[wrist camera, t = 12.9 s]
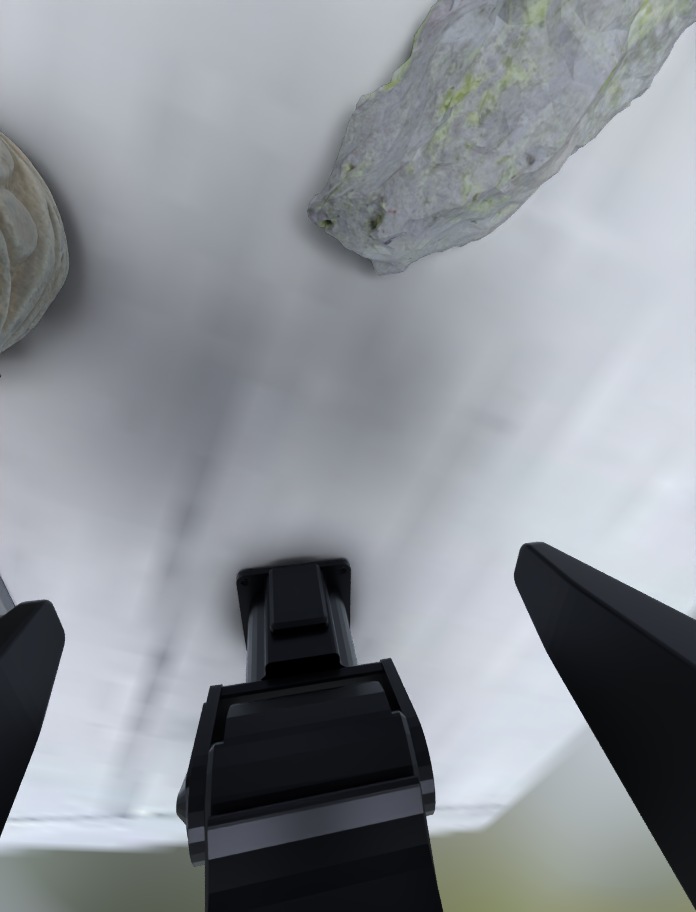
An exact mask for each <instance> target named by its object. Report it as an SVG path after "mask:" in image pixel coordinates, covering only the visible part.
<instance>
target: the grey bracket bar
mask: <svg viewBox="0 0 696 912" xmlns="http://www.w3.org/2000/svg"><path fill="white" fill-rule="evenodd" d="M14 607H15V606H14V604H13V602H12V600H11V598H10V596H9V594H8V592H7V590H6V588H5V586H4V584H3V582H2V580H1V578H0V618H1V617H2V616H3V615H5V614H6V613H7V612H9V611H10V610H11V609H13V608H14Z"/></svg>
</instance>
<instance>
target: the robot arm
mask: <svg viewBox="0 0 696 912" xmlns="http://www.w3.org/2000/svg"><path fill="white" fill-rule="evenodd" d="M342 567H344V569H340V568H342ZM243 579H248V580H247V581H244V580H243ZM514 580H515V584H516V587H517V589H518V591H519V593H520V595H521V598H522V600H523V602H524V604H525V606H526V609H527V611H528V613H529V615H530V617H531V620H532V622H533V624H534V626H535V628H536V631H537V633H538V635H539V637H540V639H541V641H542V643H543V646H544V648H545V650H546V652H547V653H548V655H549V657H550V659H551V661H552V663H553V664H554V666H555V668H556V670H557V671H558V673H559V675H560V676H561V678H562V680H563V682H564V683H565V685H566V687H567V689H568V690H569V692H570V694H571V695H572V697H573V699H574V701H575V702H576V704H577V706H578V708H579V709H580V711H581V713H582V715H583V716H584V718H585V720H586V721H587V723H588V725H589V727H590V728H591V730H592V732H593V734H594V735H595V737H596V739H597V740H598V742H599V744H600V746H601V747H602V749H603V750H604V753H605V754H606V756H607V758H608V759H609V761H610V763H611V764H612V766H613V768H614V770H615V772H616V773H617V775H618V777H619V778H620V780H621V782H622V784H623V785H624V787H625V788H626V791H627V792H628V794H629V796H630V797H631V799H632V801H633V803H634V804H635V806H636V808H637V810H638V811H639V813H640V815H641V816H642V818H643V820H644V822H645V823H646V825H647V827H648V829H649V830H650V832H651V834H652V836H653V837H654V839H655V841H656V842H657V844H658V846H659V847H660V849H661V851H662V853H663V855H664V856H665V858H666V860H667V861H668V863H669V865H670V866H671V868H672V870H673V872H674V874H675V875H676V877H677V879H678V880H679V882H680V884H681V885H682V887H683V889H684V891H685V892H686V894H687V896H688V898H689V899H690V901H691V903H692V905H693V906H694V908H695V910H696V620H695V619H693V618H691V617H689V616H687V615H685V614H683V613H681V612H679V611H677V610H675V609H673V608H671V607H669V606H667V605H665V604H664V603H662V602H660V601H658V600H656V599H654V598H652V597H650V596H648V595H646V594H644V593H642V592H640V591H638V590H636V589H634V588H632V587H630V586H628V585H626V584H624V583H622V582H620V581H618V580H617V579H615V578H613V577H611V576H609V575H607V574H605V573H603V572H601V571H599V570H597V569H595V568H593V567H591V566H589V565H587V564H585V563H583V562H581V561H579V560H577V559H575V558H573V557H571V556H570V555H568V554H566V553H564V552H562V551H560V550H558V549H556V548H554V547H552V546H550V545H548V544H546V543H544V542H532V543H525V544H523V545H522V546H521V548H520V551H519V555H518V559H517V563H516V567H515V571H514ZM236 584H237V591H238V597H239V604H240V611H241V617H242V624H243V630H244V637H245V643H246V650H247V667H246V683H241V684H235V685H228V686H223V685H222V684H221V685H215V686H210V689H209V693H208V698H207V702H206V703H204V704H203V708H202V712H201V717H200V721H199V725H198V729H197V734H196V738H195V742H194V746H193V750H192V755H191V759H190V763H189V767H188V772H187V774H186V777H185V779H184V782H183V784H182V787H181V789H180V791H179V794H178V797H177V803H176V812H177V815H178V816H179V818H180V819H181V820H182V821H183V822H184V823H185V825H186V829H187V836H188V844H189V852H190V858H191V862H192V864H193V866H194V867H196V866H201V865H205V912H443V909H442V904H441V899H440V895H439V890H438V886H437V880H436V874H435V868H434V863H433V856H432V850H431V844H430V838H429V832H428V826H427V819H426V816H428V815H433V813H434V811H435V803H436V802H435V786H434V777H433V771H432V765H431V761H430V756H429V751H428V747H427V743H426V740H425V736H424V733H423V730H422V727H421V724H420V722H419V719H418V717H417V714H416V712H415V710H414V708H413V706H412V703H411V701H410V699H409V697H408V695H407V692H406V690H405V688H404V686H403V684H402V681H401V679H400V677H399V675H398V673H397V670H396V668H395V666H394V664H393V662H392V659H391V658H388V659H382V660H380V662H375V663H369V664H363V665H358V664H357V659H356V655H355V650H354V646H353V641H352V637H351V632H350V589H351V569H350V565H349V562H348V561H346V560H333V561H324V562H316V563H307V564H298V565H289V566H281V567H272V568H263V569H255V570H246V571H242V572H240V573H239V574H238V575H237V582H236ZM64 644H65V633H64V629H63V627H62V625H61V622H60V620H59V618H58V615H57V613H56V611H55V608H54V606H53V604H52V603H51V602H50V601H49V600H35V601H26V602H22V603H20V604H18V605H17V606H15V607H14V608H13V609H11V610H10V611H9V612H7V613H6V614H5V615H3V616H2V617H1V618H0V836H1V834H2V831H3V828H4V826H5V823H6V821H7V818H8V816H9V813H10V810H11V808H12V805H13V803H14V800H15V797H16V795H17V792H18V790H19V787H20V784H21V782H22V779H23V777H24V774H25V772H26V769H27V766H28V764H29V761H30V759H31V756H32V753H33V751H34V748H35V745H36V743H37V740H38V737H39V734H40V731H41V728H42V724H43V721H44V717H45V714H46V710H47V706H48V703H49V699H50V695H51V692H52V688H53V684H54V681H55V677H56V673H57V670H58V666H59V662H60V659H61V655H62V651H63V648H64Z"/></svg>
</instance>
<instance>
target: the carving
mask: <svg viewBox="0 0 696 912" xmlns="http://www.w3.org/2000/svg"><path fill="white" fill-rule="evenodd" d="M68 271H69V253H68V246H67V240H66V236H65V232H64V227H63V223H62V219H61V216H60V213H59V211H58V208H57V206H56V204H55V201H54V199H53V197H52V194H51V192H50V190H49V188H48V187H47V185H46V184H45V182H44V180H43V179H42V177H41V176H40V174H39V173H38V171H37V170H36V169H35V167H34V166H33V164H32V163H31V162H30V160H29V159H28V158H27V157H26V155H25V154H24V153H23V152H22V151H21V150H20V149H19V148H18V147H17V146H16V145H15V144H14V143H13V142H12V141H11V140H10V139H9V138H8V137H7V136H5V135H4V134H3V133H2V132H1V131H0V353H1V352H3V351H4V350H6V349H7V348H9V347H10V346H12V345H13V344H15V343H16V342H18V341H19V340H21V339H22V338H23V337H25V336H26V335H27V334H28V333H29V332H30V331H31V330H32V329H33V328H34V327H35V326H36V325H37V324H38V322H39V321H40V320H41V318H42V316H43V315H44V313H45V312H46V310H47V308H48V307H49V306H50V304H51V303H52V302H53V300H54V299H55V298H56V296H57V294H58V293H59V291H60V290H61V288H62V286H63V284H64V282H65V280H66V278H67V275H68Z"/></svg>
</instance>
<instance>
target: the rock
mask: <svg viewBox="0 0 696 912" xmlns="http://www.w3.org/2000/svg"><path fill="white" fill-rule="evenodd" d="M694 22H696V0H439V1H438V2H437V3H436V4H434V5H433V6H432V8H431V10H430V12H429V13H428V15H427V17H426V19H425V20H424V22H423V23H422V25H421V27H420V28H419V30H418V31H417V33H416V34H415V37H414V43H413V49H412V53H411V56H410V58H409V59H408V60H407V61H406V62H405V63H404V64H403V65H402V66H401V67H399V68H398V69H397V70H395V71H394V73H393V76H392V79H391V82H390V83H389V84H387V85H384V86H381V87H380V88H378V89H377V90H376V91H375V92H374V93H373V94H370V95H362V96H361V98H360V100H359V101H358V103H357V105H356V109H355V112H354V114H353V115H352V117H351V118H350V121H349V123H348V126H347V131H346V135H345V137H344V138H343V140H342V147H341V149H340V151H339V155H338V158H337V160H336V163H335V166H334V168H333V171H332V174H331V176H330V178H329V181H328V183H327V185H326V186H325V188H324V189H323V191H322V192H321V193H320V194H317V195H315V196H314V198H313V199H312V200H311V202H310V203H309V205H308V209H307V212H308V216H309V218H310V219H311V220H312V222H314V223H315V224H317V225H318V226H319V227H324V228H325V232H326V233H328V234H329V235H331V236H333V237H334V238H336V239H337V240H339V241H340V242H341V244H342V245H343V246H344V247H345V248H347V249H348V250H353V251H354V252H355V253H357V254H359V255H360V256H362V257H365V258H369V259H370V260H371V262H372V264H373V267H374V270H375V272H376V273H377V274H378V275H385V274H393V273H399V272H404V270H405V269H406V268H407V267H408V265H409V264H410V263H412V262H415V261H417V260H418V259H419V258H421V257H423V256H426V255H428V254H430V253H433V252H442V251H445V250H447V249H449V248H452V247H454V246H458V247H462V246H464V245H466V244H467V243H469V242H471V241H476V240H479V239H481V238H483V237H484V236H486V235H488V234H489V233H491V232H492V231H493V230H495V229H496V228H497V227H498V226H500V225H501V224H502V223H504V222H505V221H506V220H507V219H508V218H509V217H510V216H511V215H512V214H514V213H515V212H516V211H517V210H518V208H519V207H520V206H521V205H522V204H523V203H524V202H525V201H526V200H527V199H528V198H529V197H530V196H531V195H532V194H533V193H534V192H535V191H536V190H537V189H538V187H539V186H540V185H541V184H543V183H544V182H545V181H547V180H548V179H549V178H551V177H552V176H553V175H555V174H556V173H557V172H558V171H559V170H560V168H561V167H562V166H563V164H564V163H565V161H566V160H567V158H568V157H569V156H570V155H572V154H574V153H575V152H576V151H577V150H578V149H579V148H581V147H583V146H584V145H586V144H587V143H588V142H589V141H591V140H592V139H594V138H595V137H596V136H597V134H598V133H599V132H600V131H601V130H602V128H603V127H604V126H605V125H606V124H607V123H608V122H609V121H610V120H611V119H612V118H613V117H614V116H615V115H616V114H617V113H619V112H621V111H623V110H624V109H626V108H627V107H628V106H630V104H631V101H632V100H633V99H635V98H637V97H640V96H641V95H642V94H643V93H644V92H645V91H646V90H647V89H648V88H649V87H650V86H651V83H652V81H653V78H654V76H655V75H656V74H657V73H658V72H659V70H660V69H661V67H662V66H663V64H664V62H665V61H666V59H667V58H668V56H669V54H670V52H671V50H672V48H673V45H674V44H675V42H676V41H677V39H678V38H679V37H680V35H681V34H682V32H683V31H684V30H685V29H686V28H687V27H689V26H690V25H692V24H693V23H694Z"/></svg>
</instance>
